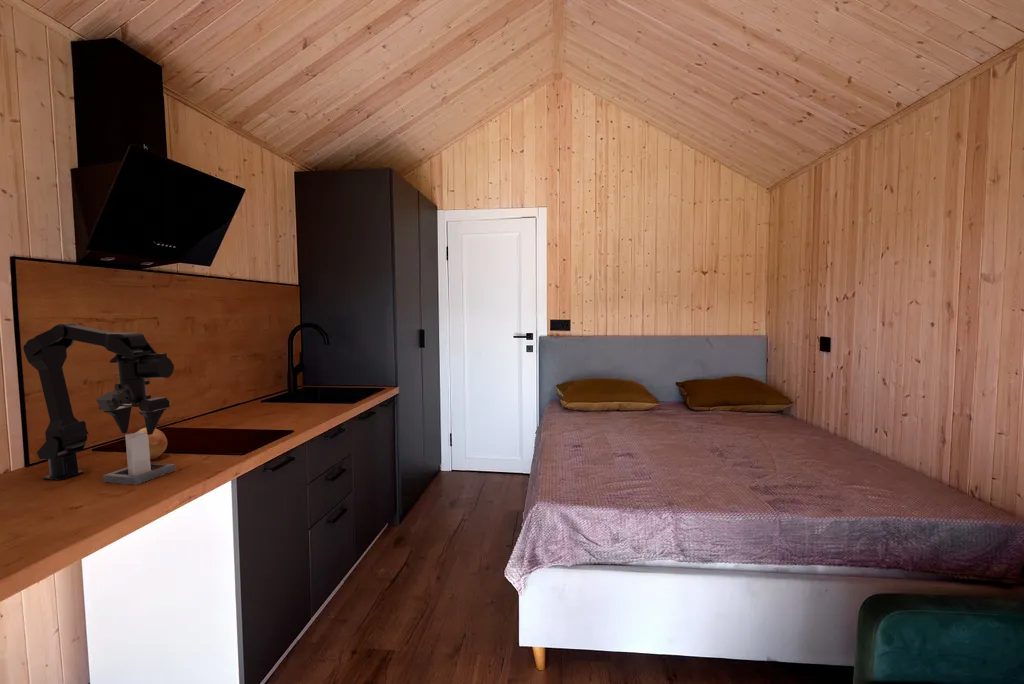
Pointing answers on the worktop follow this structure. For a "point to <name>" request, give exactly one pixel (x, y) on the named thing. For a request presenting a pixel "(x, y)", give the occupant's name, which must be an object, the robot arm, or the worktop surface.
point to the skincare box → (138, 453)
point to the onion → (156, 442)
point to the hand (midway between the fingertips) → (137, 433)
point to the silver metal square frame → (124, 478)
